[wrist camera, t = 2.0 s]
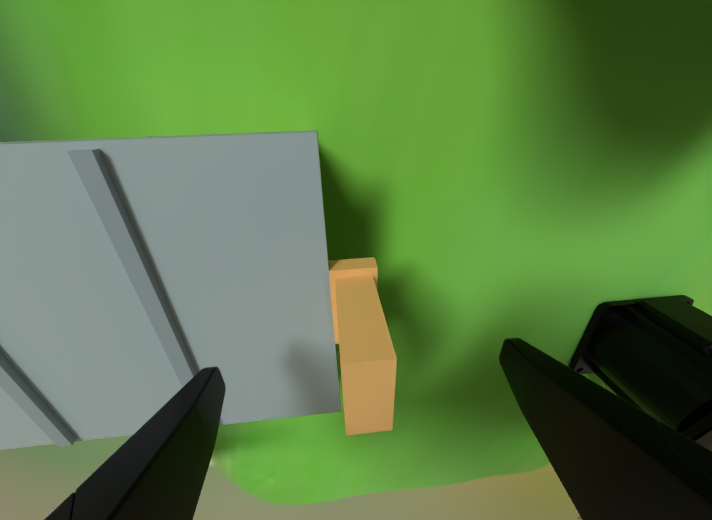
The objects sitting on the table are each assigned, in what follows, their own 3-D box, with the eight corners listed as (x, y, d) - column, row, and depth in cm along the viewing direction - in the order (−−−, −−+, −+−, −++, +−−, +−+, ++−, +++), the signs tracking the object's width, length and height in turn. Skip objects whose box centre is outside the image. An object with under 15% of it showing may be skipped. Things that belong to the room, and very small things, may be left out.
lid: (373, 393, 15) (393, 504, 11) (-54, 439, 13) (-225, 591, 9) (374, 127, 9) (421, 146, 5) (-411, 157, 7) (-1399, 226, 3)
